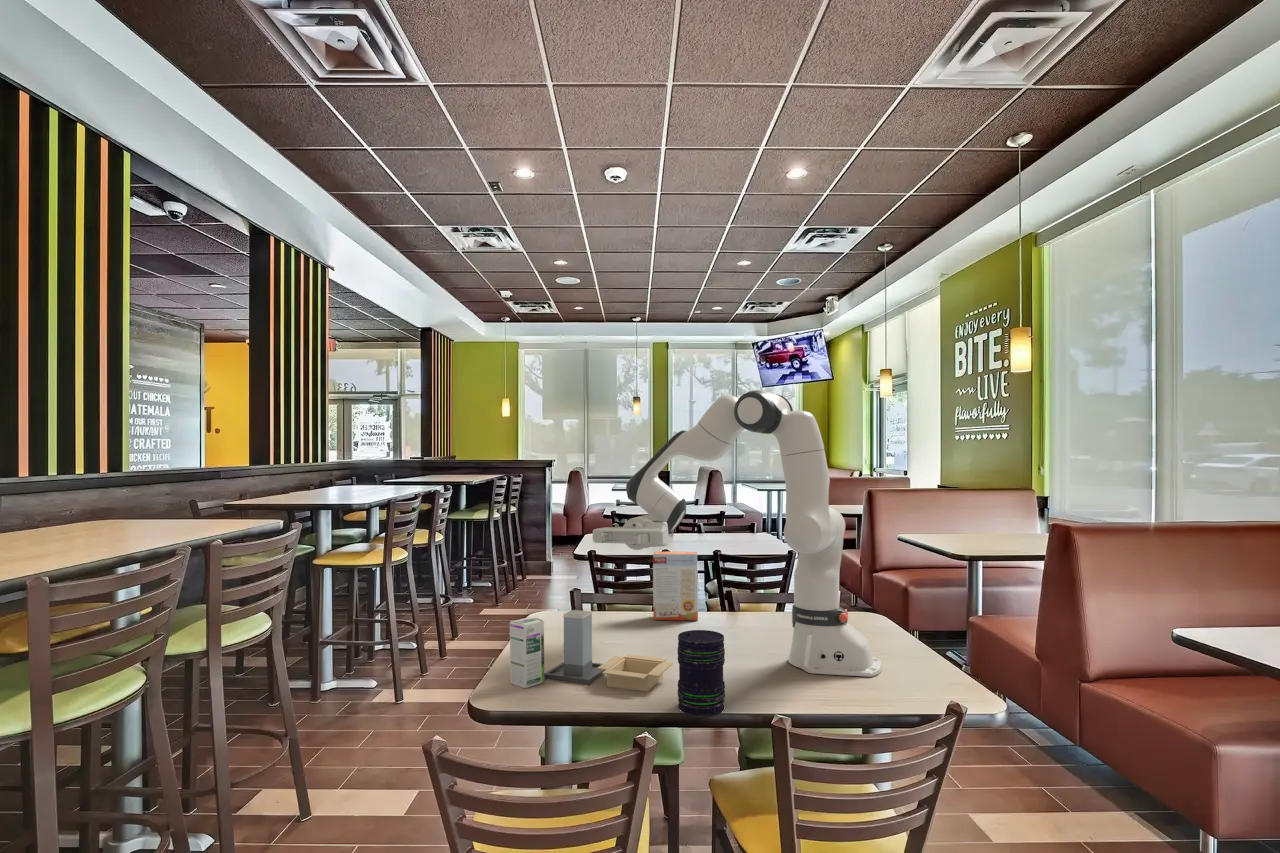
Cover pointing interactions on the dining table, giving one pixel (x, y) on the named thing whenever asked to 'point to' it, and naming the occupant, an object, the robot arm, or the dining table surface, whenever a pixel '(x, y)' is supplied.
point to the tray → (587, 679)
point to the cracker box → (675, 586)
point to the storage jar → (701, 673)
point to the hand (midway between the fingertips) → (618, 539)
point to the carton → (634, 671)
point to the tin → (577, 642)
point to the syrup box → (527, 652)
